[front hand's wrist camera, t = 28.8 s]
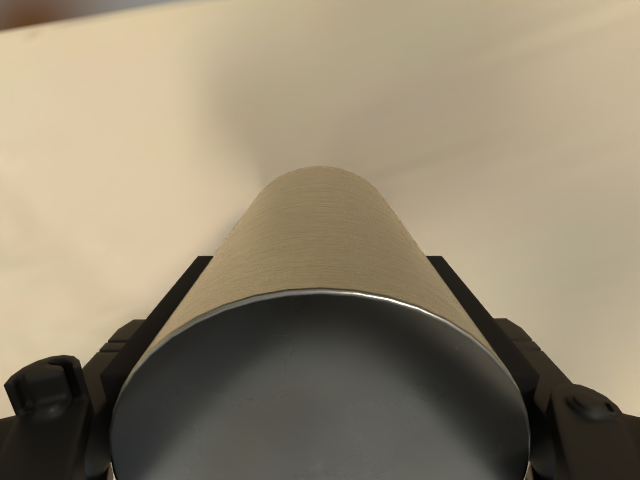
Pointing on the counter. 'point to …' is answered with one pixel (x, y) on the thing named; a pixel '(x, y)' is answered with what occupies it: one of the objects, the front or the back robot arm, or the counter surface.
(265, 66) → the counter surface
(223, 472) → the tin
